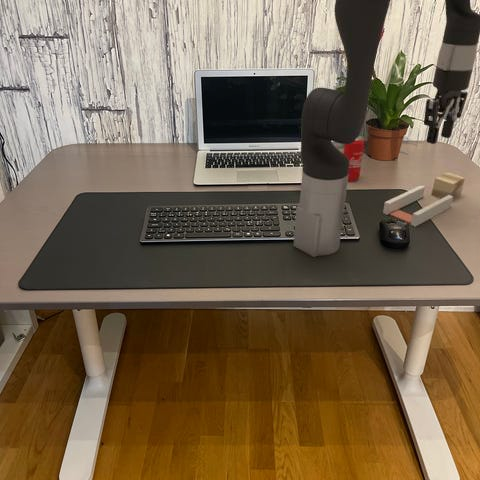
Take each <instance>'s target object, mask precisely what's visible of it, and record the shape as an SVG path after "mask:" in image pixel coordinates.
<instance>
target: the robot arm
mask: <svg viewBox="0 0 480 480" xmlns="http://www.w3.org/2000/svg"><path fill="white" fill-rule="evenodd" d="M390 2H391V0H335V2H334V19H335V24H336V27H337V31H338V35H339V37H340V40H341V43H342V46H343V50H344V54H345V59H346V78H345V85H344V90H339V89H332V88H328V87H327V88H326V87H316V88H313V89H312V90H311V91H310V92H309V93H308V95H307V96H306V97H305V101H304V103H303V108H302V112H301V122H300V123H301V127H300V128H301V129H300V130H301V131H300V133H301V135H300V159H301V161H302V172H301V185H300V197H299V206H297V207H296V210H295V220H294V221H295V222H294V235H293V247H295V248H297V249H298V250H299V251H303V252H304V253H306V254H308V255H309V256H311V257H313V258H316V257H318V256H329V255H332V254H334V253H337V251H338V250H339V249H340V243H341V235H342V227H343V219H344V211H345V203H346V197H347V188H348V183H349V181H348V174H349V166H350V162H349V159H348V158H347V157H346V156H345V155H344V154H343V153H344V152H342V151H340V150H339V148H337V147H336V146H335V145H334V143H333V142H335V143H338V144H343V145H344V144H351V143H353V142H354V141H355V140H356V139H357V137H358V136H360V134H361V132H362V130H363V127H364V123H365V120H366V116H367V110H368V105H369V99H370V92H371V86H372V81H373V76H374V75H373V74H374V70H375V64H376V58H377V53H378V49H379V45H380V41H381V38H382V37H381V36H382V33H383V29H384V25H385V21H386V18H387V14H388V11H389V7H390ZM444 3H445V27H444V32H443V37H442V42H441V45H440V48H439V52H438V55H437V60H436V65H435V69H434V70H435V71H434V75H433V79H432V87H433V88H436V93H435V96H434V98H433V99H430V98H427V100H426V101H425V111H424V119H423V125H425V126H427V127H428V131H427V135H426V143H428V144H431V145H435V144H436V143H437V142H438V138H439V132H440V130H441V133H440V136H441V137H442V138H444V139H445V138H446V139H449V138H451V137H452V134H453V129H454V125H455V123H456V122H457V120H458V119H461V117H462V114H463V111H464V108H465V105H466V101H467V98H468V94H469V93H468V92H467V91H466V90H467V89H469V87H470V82H471V78H472V74H473V70H474V65H475V61H476V57H477V56H476V55H477V48H478V43H479V39H480V14H479V13H477V12H475V11H474V10H472V7H471V0H445V1H444ZM443 120H444V121H443ZM442 122H443V123H442ZM441 124H442V128H441V129H440V127H441Z"/></svg>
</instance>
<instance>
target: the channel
mask: <svg viewBox="0 0 480 480" xmlns="http://www.w3.org/2000/svg"><path fill="white" fill-rule="evenodd" d="M425 190H426V186H424V185H418V186H416V187H414V188H413V189H410V190H407V191H406V192H404V193H401V194H399V195H398V196H395V197H393V198H391V199H388V200H386V201H384V206H383V211H382V214H384V215H386V216H387V215H389V216H390V217H393V218H396V219H398V220H401V221H403V222H405V223H407V224H410V226H412V227H417V226H419V225H420V224H423V223H425V222H426V221H429V220H430V219H432V218H433V217H435V216H437V215H439V214H441V213H443V212H445V211H446V210H448V209H450V208H451V206H452V202H453V200H454V199H453V196H450V195H448V196H446V197H444V198H442V199H441V198H439V199H438V200H437V201H434V202H433V203H431V204H429V205H426V206H425V207H423V208H421V209H419V210H417V211H415V212H413V213H412V214H410V213H408V212H406V211H402V210H400V209H401V208H404V207H406V206H408V205H410V204H412V203H414V202H416V201H418V200H419V199H421V198H424V194H425Z"/></svg>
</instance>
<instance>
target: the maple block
mask: <svg viewBox="0 0 480 480" xmlns="http://www.w3.org/2000/svg"><path fill="white" fill-rule="evenodd" d="M465 179H466V178H465V177H462V176H459V175H457V174H454V173H451V172H444V173H443V174H440V175H439V176H436V177H435V178H434V181H433V186H432V190H431V196H432V197H436V198H439V199H442V198H444V197H446V196H448V195H450V196H453V199H452V200H454V199H456V198H458V197H460V196H461V195H462V191H463V187H464V185H465V184H464V182H465ZM459 195H460V196H459Z"/></svg>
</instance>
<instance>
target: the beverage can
mask: <svg viewBox="0 0 480 480" xmlns="http://www.w3.org/2000/svg"><path fill="white" fill-rule="evenodd" d="M343 145H344V147H343V152H342V153H343V154H344V155H345V156H346V157H347V158H348V159H349V162H350V166H349V174H348V182H356V181H358V179H359V178H360V174H361V168H362V161H363V155H364V154H363V153H364V145H365V138H364V137H363V136H362V135H359V136H358V137H357V139H356V140H355V141H354V142H353V143H351V144H343Z"/></svg>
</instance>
